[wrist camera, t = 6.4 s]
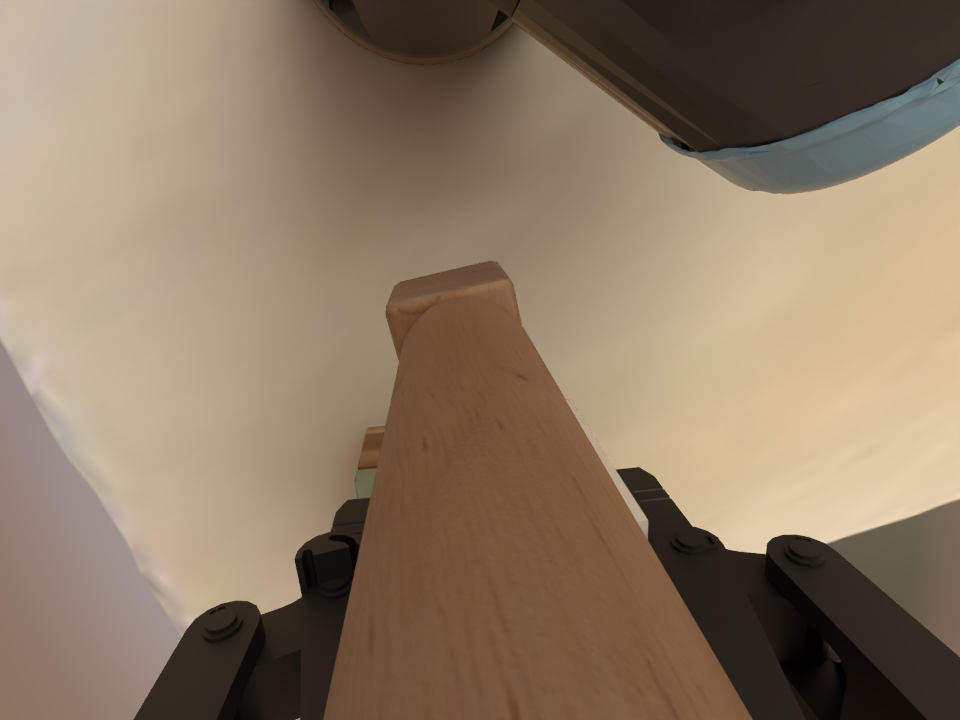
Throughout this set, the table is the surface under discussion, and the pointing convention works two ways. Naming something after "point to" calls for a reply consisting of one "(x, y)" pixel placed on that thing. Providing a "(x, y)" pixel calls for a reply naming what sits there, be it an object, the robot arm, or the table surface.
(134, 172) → the table surface
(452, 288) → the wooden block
